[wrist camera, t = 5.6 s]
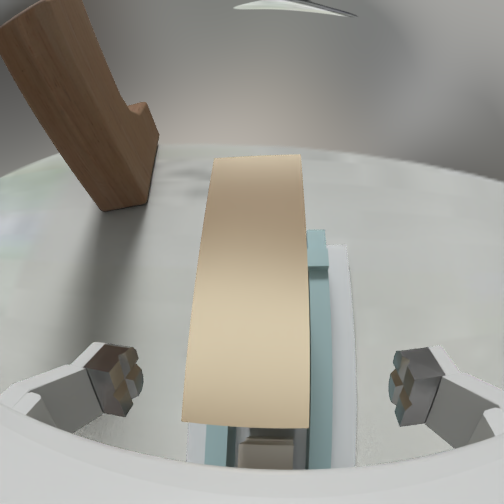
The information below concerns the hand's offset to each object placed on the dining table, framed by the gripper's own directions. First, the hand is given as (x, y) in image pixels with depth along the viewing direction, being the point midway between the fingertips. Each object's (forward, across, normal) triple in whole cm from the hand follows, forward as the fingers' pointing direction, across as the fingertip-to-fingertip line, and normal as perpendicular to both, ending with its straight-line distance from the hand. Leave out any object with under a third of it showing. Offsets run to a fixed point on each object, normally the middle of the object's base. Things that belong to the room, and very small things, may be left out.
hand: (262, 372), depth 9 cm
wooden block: (+19, +13, -6) cm, 24 cm away
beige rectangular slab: (+7, 0, +4) cm, 8 cm away
